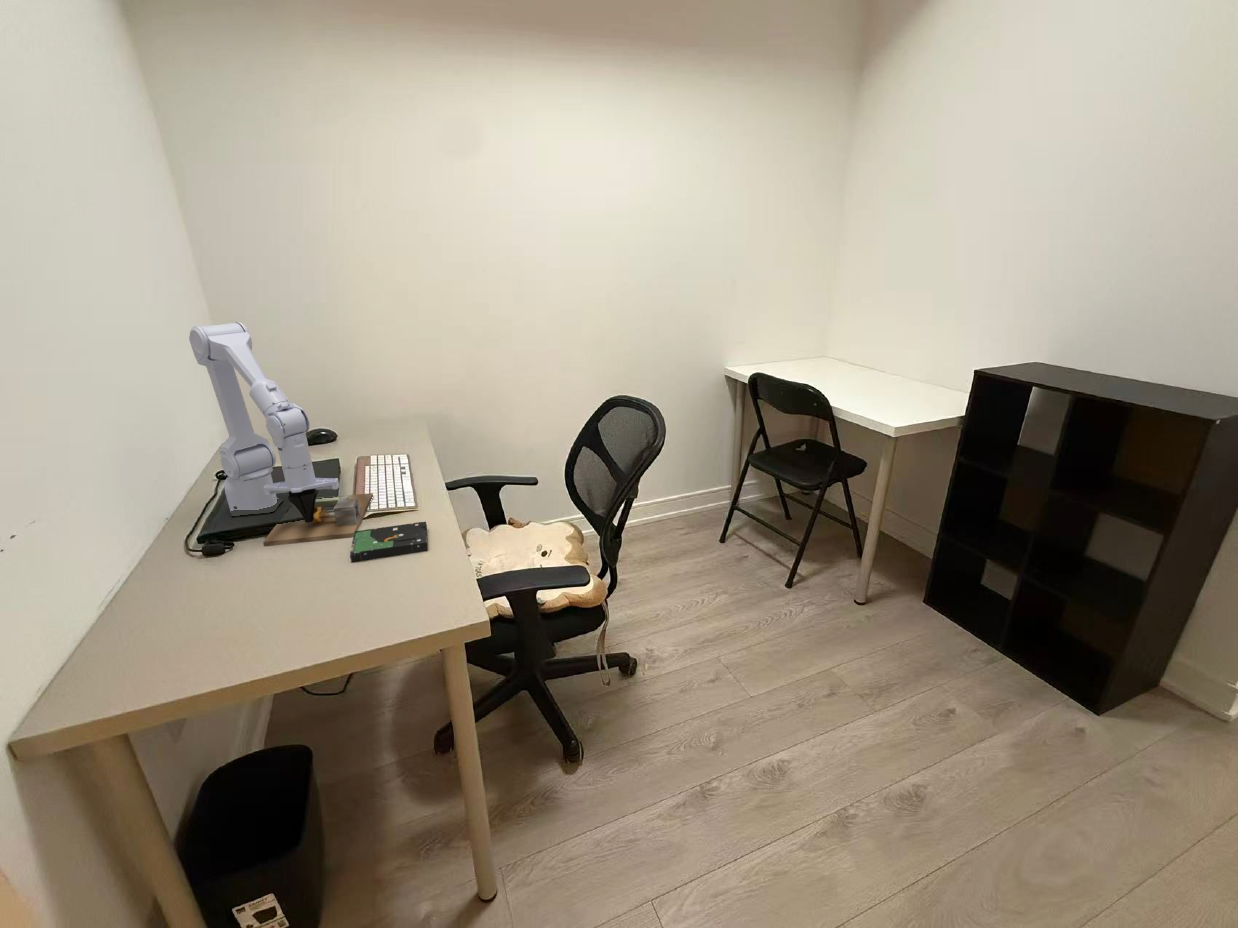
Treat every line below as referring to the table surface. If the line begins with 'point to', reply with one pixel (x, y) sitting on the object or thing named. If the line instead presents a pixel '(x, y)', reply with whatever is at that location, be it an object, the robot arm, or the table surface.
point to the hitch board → (324, 523)
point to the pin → (323, 514)
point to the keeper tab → (326, 502)
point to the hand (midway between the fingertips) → (309, 520)
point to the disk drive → (389, 541)
